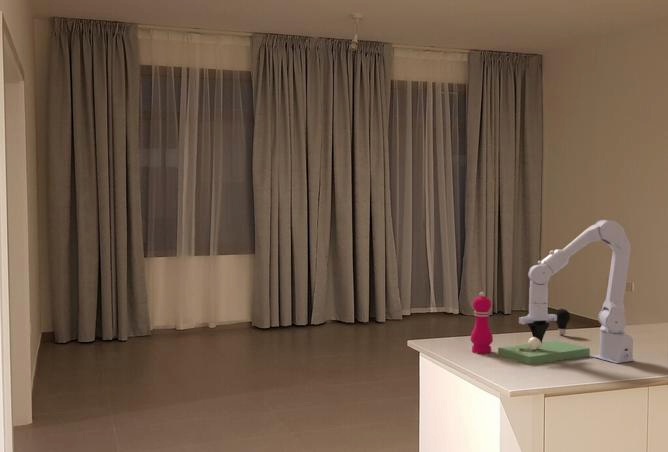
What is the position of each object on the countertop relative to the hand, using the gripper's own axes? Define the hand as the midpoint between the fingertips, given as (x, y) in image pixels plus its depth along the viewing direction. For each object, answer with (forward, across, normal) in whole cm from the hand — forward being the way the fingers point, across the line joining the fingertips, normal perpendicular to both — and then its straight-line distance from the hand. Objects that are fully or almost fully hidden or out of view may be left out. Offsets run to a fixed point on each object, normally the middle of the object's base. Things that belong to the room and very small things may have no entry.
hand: (537, 344), depth 215 cm
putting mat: (+4, -3, 0) cm, 5 cm away
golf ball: (-1, +2, 0) cm, 2 cm away
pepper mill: (+4, +12, -14) cm, 18 cm away
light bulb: (+4, -32, -21) cm, 39 cm away
